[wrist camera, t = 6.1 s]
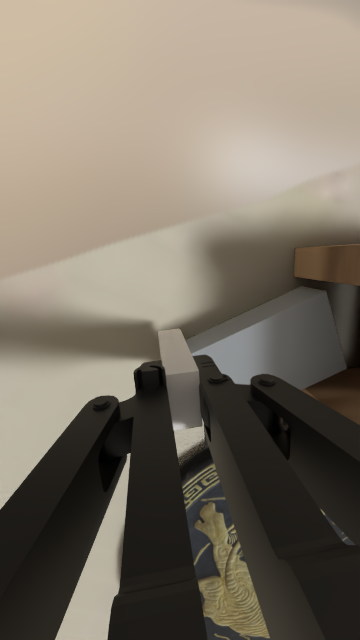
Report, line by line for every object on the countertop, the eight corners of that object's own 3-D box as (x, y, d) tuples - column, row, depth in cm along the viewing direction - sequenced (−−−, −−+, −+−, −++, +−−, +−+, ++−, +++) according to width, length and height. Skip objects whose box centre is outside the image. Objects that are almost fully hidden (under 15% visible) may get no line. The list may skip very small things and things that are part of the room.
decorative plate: (307, 351, 19) (489, 526, 26) (292, 342, 20) (467, 508, 28) (55, 606, 22) (281, 697, 29) (62, 579, 24) (273, 671, 31)
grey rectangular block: (208, 404, 21) (218, 429, 18) (178, 341, 19) (184, 357, 16) (319, 352, 21) (347, 368, 18) (299, 285, 19) (326, 291, 16)
